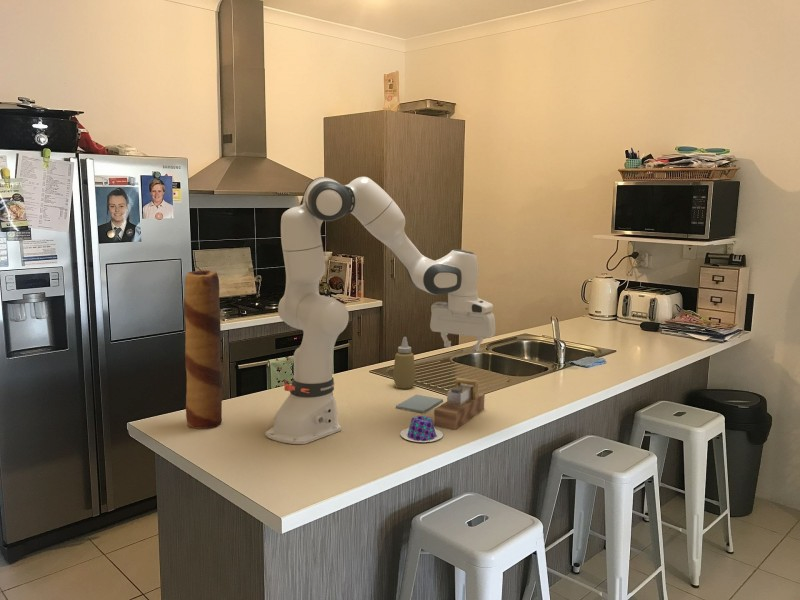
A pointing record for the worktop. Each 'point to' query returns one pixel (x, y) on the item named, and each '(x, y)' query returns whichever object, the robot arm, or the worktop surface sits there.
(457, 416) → the brown stand
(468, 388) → the lever cap
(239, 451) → the worktop surface
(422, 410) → the rubber mat
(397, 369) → the squeeze bottle
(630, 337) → the worktop surface
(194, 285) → the wafer roll
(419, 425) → the pudding
